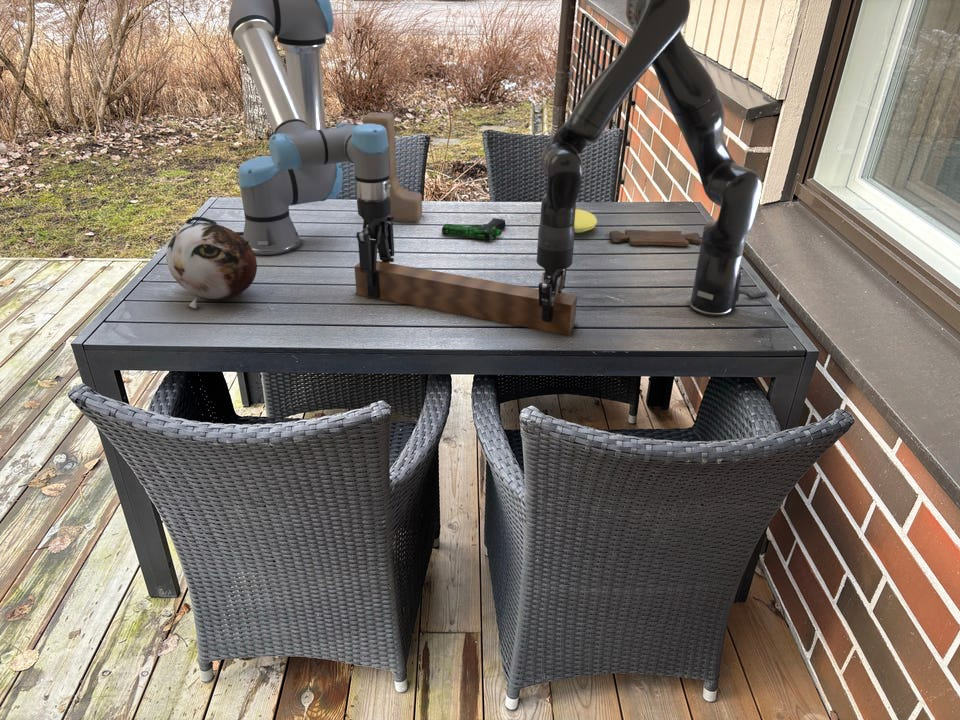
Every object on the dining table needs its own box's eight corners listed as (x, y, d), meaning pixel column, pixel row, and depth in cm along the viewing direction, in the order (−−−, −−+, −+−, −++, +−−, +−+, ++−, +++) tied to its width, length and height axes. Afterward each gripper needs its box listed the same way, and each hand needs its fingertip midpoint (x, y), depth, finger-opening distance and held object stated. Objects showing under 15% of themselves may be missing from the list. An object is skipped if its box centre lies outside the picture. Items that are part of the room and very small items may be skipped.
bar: (356, 294, 171) (354, 266, 167) (366, 286, 175) (364, 258, 171) (568, 335, 155) (571, 305, 151) (574, 325, 159) (577, 295, 155)
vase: (559, 216, 220) (561, 193, 217) (605, 227, 212) (608, 204, 209) (532, 230, 209) (533, 207, 206) (580, 242, 201) (582, 218, 198)
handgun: (511, 219, 210) (493, 234, 198) (511, 228, 211) (492, 244, 199) (461, 212, 215) (440, 226, 203) (461, 221, 217) (440, 236, 204)
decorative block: (417, 223, 213) (414, 119, 198) (368, 220, 215) (361, 117, 199) (422, 214, 220) (419, 113, 204) (375, 212, 221) (368, 111, 206)
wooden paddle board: (704, 248, 200) (696, 236, 208) (705, 243, 199) (697, 230, 207) (612, 245, 200) (607, 232, 208) (612, 239, 199) (608, 227, 208)
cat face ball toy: (130, 285, 161) (164, 203, 163) (192, 308, 177) (221, 233, 178) (195, 307, 151) (229, 220, 152) (254, 330, 166) (285, 250, 168)
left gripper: (368, 212, 151) (375, 310, 163) (406, 188, 165) (410, 280, 177) (337, 207, 153) (346, 304, 165) (378, 184, 168) (383, 275, 180)
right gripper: (563, 257, 142) (557, 333, 150) (581, 233, 153) (575, 305, 162) (527, 252, 144) (524, 326, 153) (548, 229, 155) (543, 299, 164)
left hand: (379, 291), depth 171 cm, fingers closed on bar, 5 cm apart
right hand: (550, 315), depth 157 cm, fingers closed on bar, 5 cm apart
